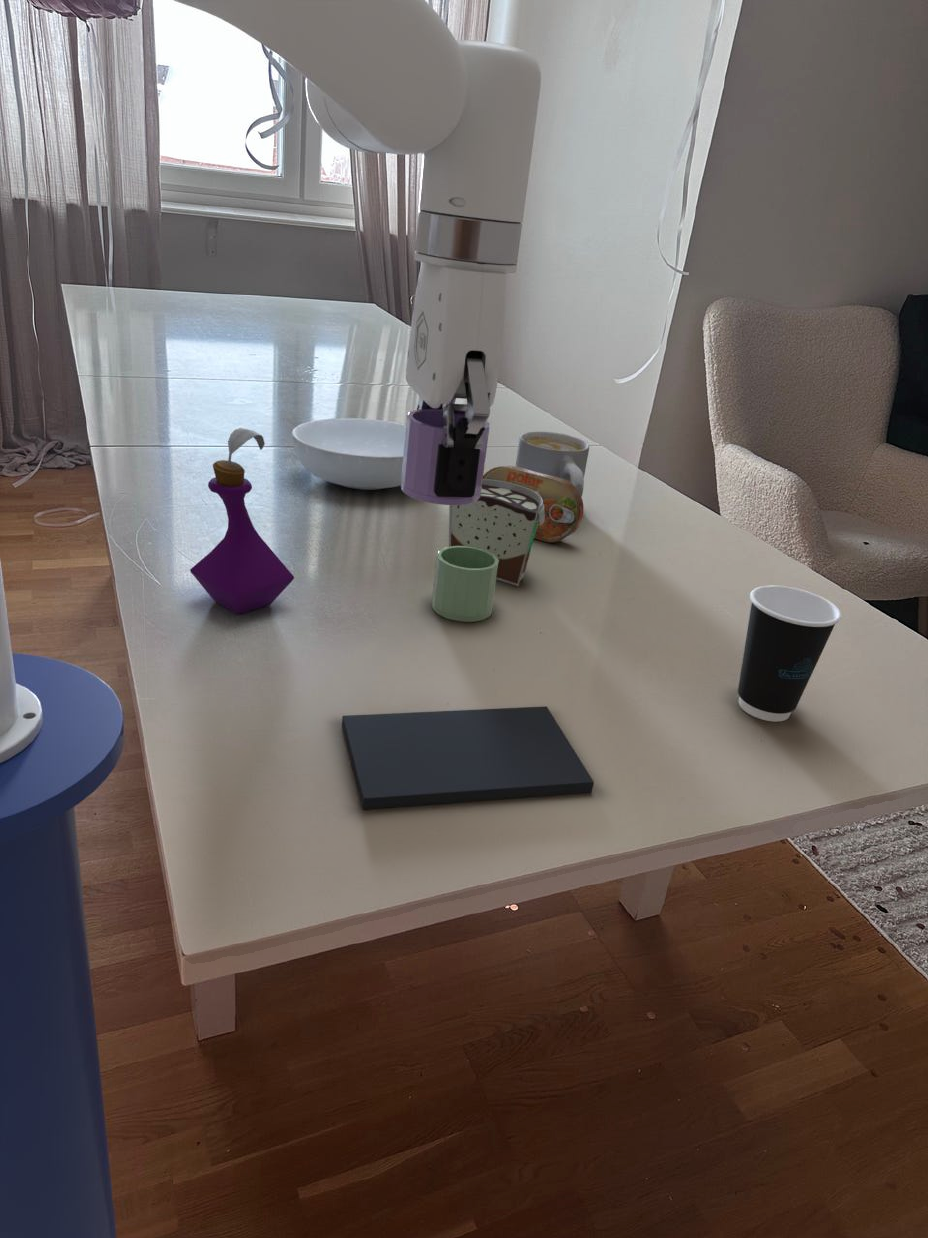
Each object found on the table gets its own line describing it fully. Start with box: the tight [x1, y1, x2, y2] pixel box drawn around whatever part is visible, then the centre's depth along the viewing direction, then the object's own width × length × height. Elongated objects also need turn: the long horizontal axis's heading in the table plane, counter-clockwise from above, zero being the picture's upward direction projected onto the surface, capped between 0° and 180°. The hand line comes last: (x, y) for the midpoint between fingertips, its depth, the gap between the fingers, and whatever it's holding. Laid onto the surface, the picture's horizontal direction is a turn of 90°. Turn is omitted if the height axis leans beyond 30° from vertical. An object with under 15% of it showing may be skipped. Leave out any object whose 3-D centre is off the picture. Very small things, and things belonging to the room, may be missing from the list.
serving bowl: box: [291, 417, 406, 491], centre depth 131 cm, size 21×21×7 cm
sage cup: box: [431, 546, 499, 623], centre depth 96 cm, size 6×6×6 cm
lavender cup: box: [400, 409, 491, 506], centre depth 72 cm, size 6×6×6 cm
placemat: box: [341, 705, 595, 810], centre depth 72 cm, size 18×11×1 cm, turn 105°
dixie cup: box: [737, 584, 842, 723], centre depth 82 cm, size 8×8×11 cm
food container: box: [448, 479, 545, 587], centre depth 106 cm, size 12×6×10 cm, turn 62°
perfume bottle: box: [189, 427, 295, 615], centre depth 88 cm, size 8×8×18 cm
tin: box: [483, 465, 584, 543], centre depth 119 cm, size 15×3×8 cm, turn 58°
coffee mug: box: [515, 430, 590, 498], centre depth 127 cm, size 13×10×10 cm
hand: (441, 479), depth 73 cm, fingers closed on lavender cup, 6 cm apart
